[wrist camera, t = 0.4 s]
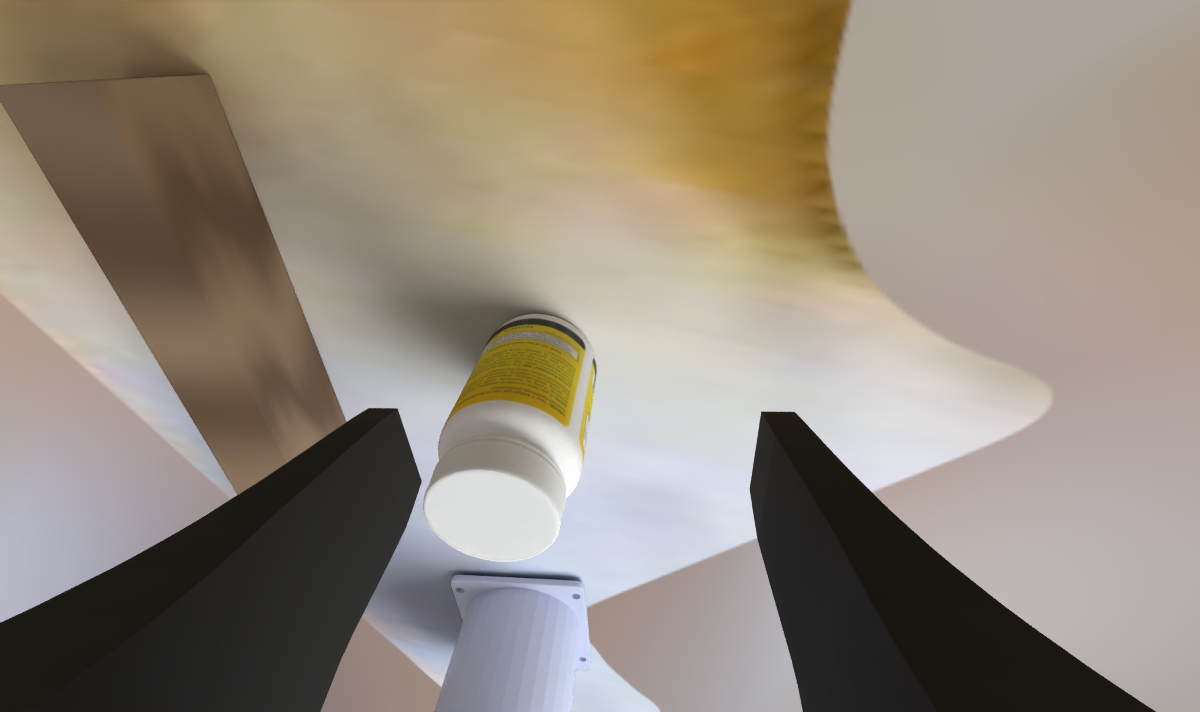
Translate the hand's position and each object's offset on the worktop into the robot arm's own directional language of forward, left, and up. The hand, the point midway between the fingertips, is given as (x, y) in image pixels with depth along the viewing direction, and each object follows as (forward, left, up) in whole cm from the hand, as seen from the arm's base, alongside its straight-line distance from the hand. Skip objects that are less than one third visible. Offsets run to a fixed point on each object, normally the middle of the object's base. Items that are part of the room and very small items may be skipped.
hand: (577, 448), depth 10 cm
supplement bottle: (-4, +3, -10) cm, 12 cm away
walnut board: (-4, +14, -10) cm, 18 cm away
